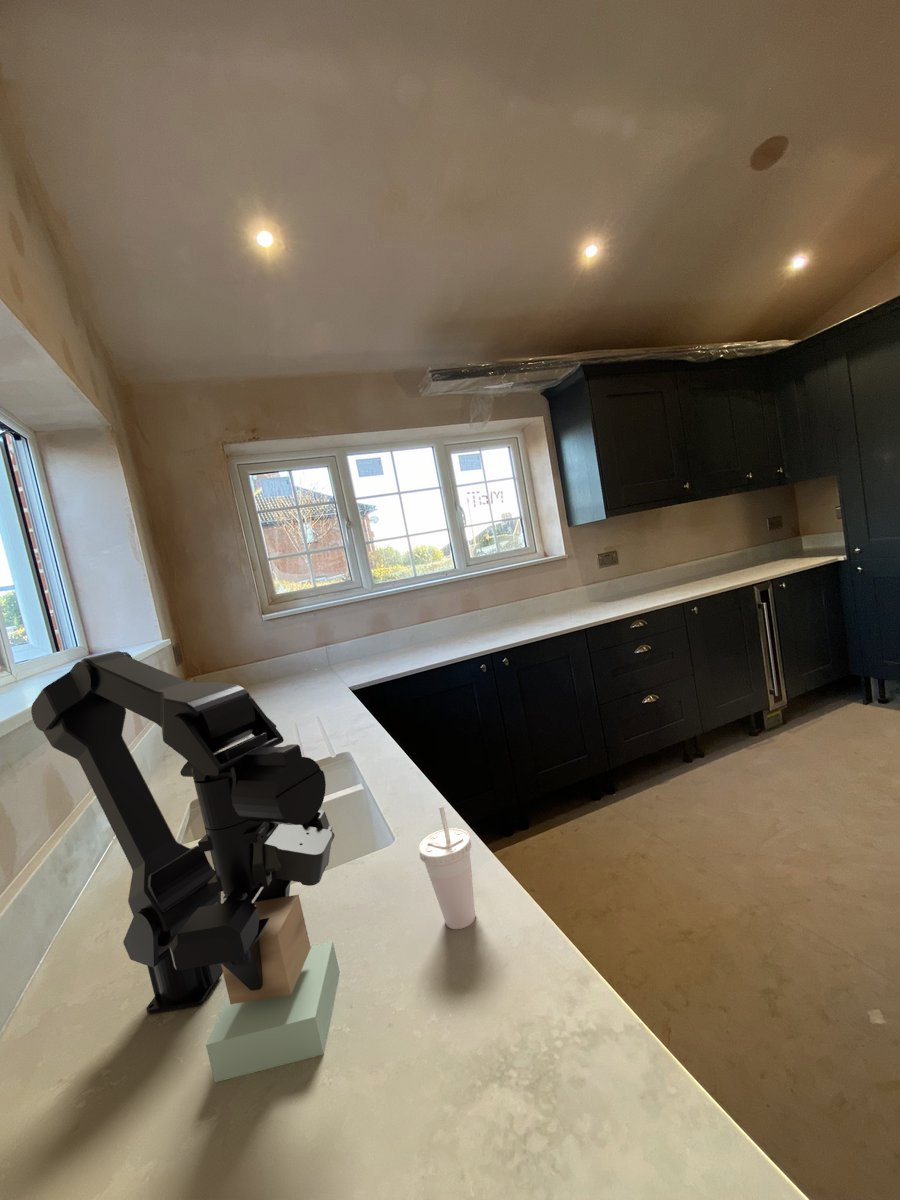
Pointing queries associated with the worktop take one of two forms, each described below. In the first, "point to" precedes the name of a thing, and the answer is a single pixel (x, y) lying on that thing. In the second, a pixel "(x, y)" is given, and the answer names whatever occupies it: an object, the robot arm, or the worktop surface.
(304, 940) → the walnut cube
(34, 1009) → the worktop surface
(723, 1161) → the worktop surface
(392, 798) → the worktop surface
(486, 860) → the worktop surface
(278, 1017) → the sage box
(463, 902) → the smoothie
